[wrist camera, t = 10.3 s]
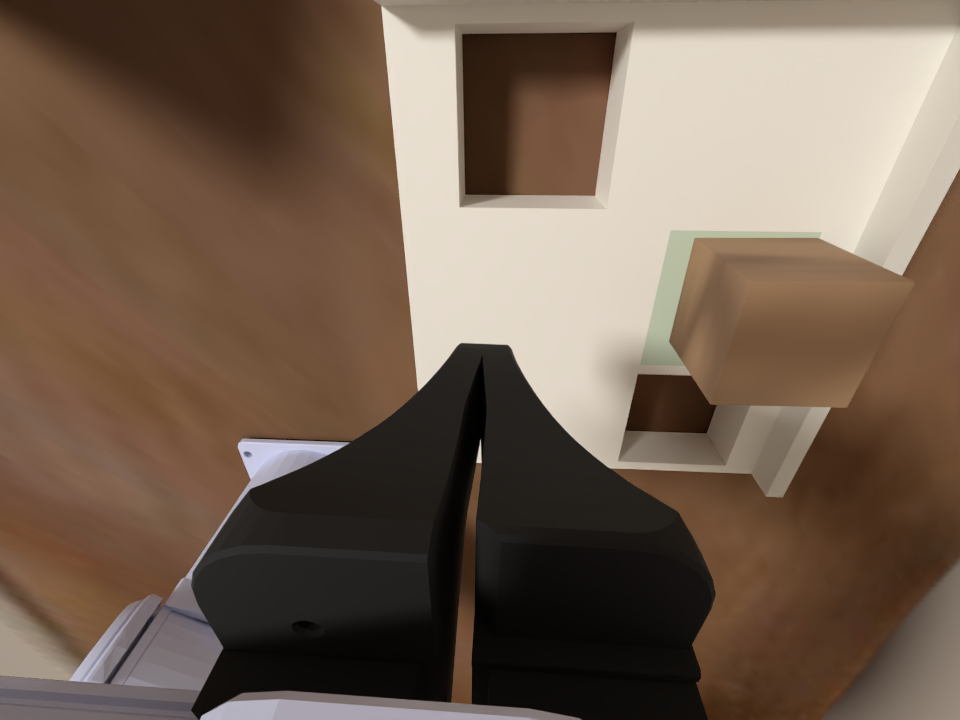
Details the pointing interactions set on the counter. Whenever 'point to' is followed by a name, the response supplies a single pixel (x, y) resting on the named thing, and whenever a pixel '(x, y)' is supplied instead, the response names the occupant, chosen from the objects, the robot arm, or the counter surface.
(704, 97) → the board
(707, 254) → the block
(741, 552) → the counter surface
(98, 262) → the counter surface
